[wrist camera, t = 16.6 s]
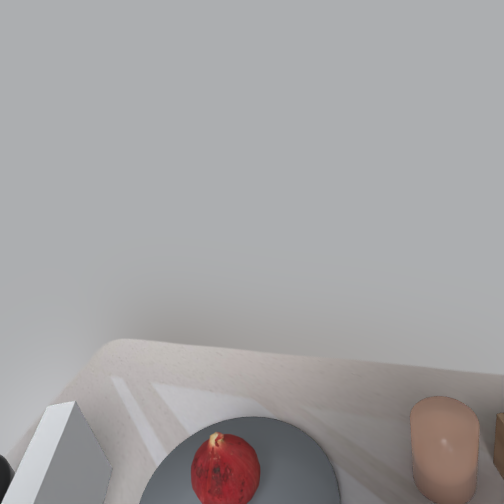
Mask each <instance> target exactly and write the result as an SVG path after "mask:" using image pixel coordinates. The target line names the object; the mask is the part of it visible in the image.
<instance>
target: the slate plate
mask: <svg viewBox="0 0 504 504" xmlns="http://www.w3.org/2000/svg"><path fill="white" fill-rule="evenodd" d="M215 432H220V433H222V434H232V435H235V436H238V437H241V438H243V439H244V440H245V441H246V442H248V443H249V444H250V445H251V446H252V447H253V448H254V450H255V452H256V454H257V457H258V461H259V464H260V472H261V474H260V481H259V486H258V488H257V490H256V492H255V494H254V496H253V497H252V499H251V500H250V501H249V502H248V503H247V504H340V497H339V491H338V486H337V480H336V477H335V474H334V471H333V468H332V466H331V464H330V462H329V460H328V458H327V456H326V455H325V453H324V452H323V451H322V449H321V448H320V447H319V446H318V444H317V443H316V442H315V441H314V440H313V439H312V438H310V437H309V436H308V435H307V434H306V433H304V432H303V431H301V430H299V429H298V428H296V427H294V426H292V425H290V424H288V423H285V422H282V421H279V420H276V419H270V418H265V417H241V418H235V419H230V420H226V421H222V422H219V423H216V424H213V425H211V426H209V427H207V428H204V429H202V430H200V431H199V432H197V433H195V434H194V435H192V436H190V437H189V438H187V439H186V440H185V441H183V442H182V443H181V444H179V445H178V446H177V447H176V448H175V449H174V450H173V451H172V452H171V453H170V454H169V455H168V456H167V457H166V458H165V459H164V460H163V461H162V463H161V464H160V465H159V467H158V468H157V469H156V471H155V472H154V474H153V475H152V477H151V479H150V480H149V482H148V484H147V486H146V488H145V490H144V492H143V495H142V498H141V500H140V503H139V504H202V503H201V502H200V500H199V499H198V497H197V495H196V494H195V492H194V490H193V488H192V483H191V465H192V462H193V459H194V456H195V453H196V451H197V450H198V449H199V447H200V446H201V445H202V443H203V442H205V441H206V440H208V439H209V438H210V435H212V434H214V433H215Z"/></svg>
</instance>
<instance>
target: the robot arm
mask: <svg viewBox="0 0 504 504" xmlns="http://www.w3.org/2000/svg"><path fill="white" fill-rule="evenodd" d="M111 473H112V467H111V465H110V463H109V461H108V459H107V458H106V456H105V454H104V452H103V450H102V448H101V447H100V445H99V443H98V441H97V439H96V437H95V435H94V434H93V432H92V430H91V428H90V426H89V424H88V423H87V421H86V419H85V417H84V415H83V413H82V412H81V410H80V408H79V406H78V404H77V402H76V401H72V402H66V403H61V404H56V405H51V406H47V409H46V411H45V413H44V415H43V417H42V419H41V421H40V423H39V425H38V427H37V430H36V432H35V434H34V436H33V438H32V440H31V442H30V444H29V446H28V448H27V450H26V453H25V455H24V457H23V459H22V461H21V463H20V465H19V467H18V469H17V471H16V474H15V476H14V478H13V480H12V482H11V484H10V486H9V488H8V490H7V492H6V494H5V497H4V499H3V501H2V503H1V504H103V503H104V499H105V495H106V491H107V488H108V484H109V480H110V476H111Z"/></svg>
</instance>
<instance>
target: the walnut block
mask: <svg viewBox="0 0 504 504" xmlns="http://www.w3.org/2000/svg"><path fill="white" fill-rule="evenodd" d="M493 463H494V465H495V466H496V468H497V469H498V471H499V472H500V474H501V476H502V477H503V479H504V413H499V414H497V419H496V432H495V446H494V460H493Z"/></svg>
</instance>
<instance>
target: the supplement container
mask: <svg viewBox="0 0 504 504" xmlns="http://www.w3.org/2000/svg"><path fill="white" fill-rule="evenodd" d="M15 474H16V473H15V472H14V470H13V469H12V467H11V466H10V464H9V463H8V461H7V460H6V459H5V458H4V457H3V456H2V455H0V504H1V503H2V501H3V499H4V497H5V494H6V492H7V490H8V488H9V486H10V484H11V482H12V480H13V478H14V476H15Z"/></svg>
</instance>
